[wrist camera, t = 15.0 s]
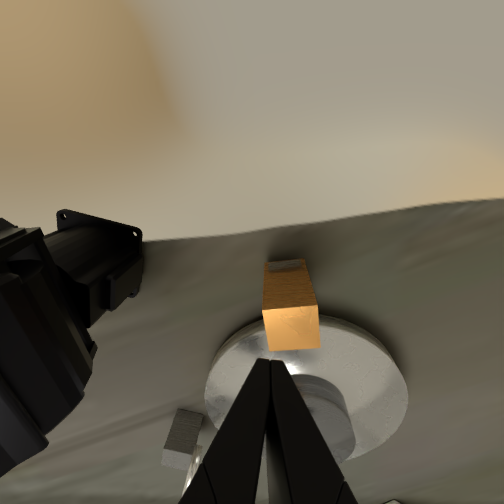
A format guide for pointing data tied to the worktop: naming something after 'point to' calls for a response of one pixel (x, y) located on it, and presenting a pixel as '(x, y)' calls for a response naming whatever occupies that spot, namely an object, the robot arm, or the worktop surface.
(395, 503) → the medicine bottle
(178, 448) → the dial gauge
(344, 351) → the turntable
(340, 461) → the cover
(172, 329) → the worktop surface
